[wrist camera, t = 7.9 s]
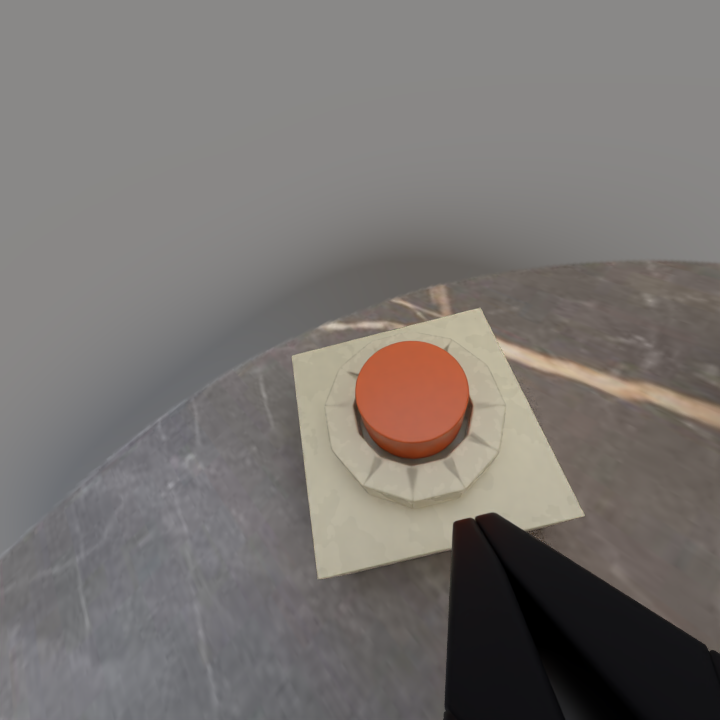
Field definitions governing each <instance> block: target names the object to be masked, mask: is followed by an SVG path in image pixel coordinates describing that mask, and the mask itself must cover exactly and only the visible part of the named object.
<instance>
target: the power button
mask: <svg viewBox="0 0 720 720" xmlns="http://www.w3.org/2000/svg"><path fill="white" fill-rule="evenodd" d="M355 398H356V403H357V407H358V410H359V412H360V415H361V417H362V420H363V422H364V425H365V427H366V429H367V432H368V433H369V435H370V437H371V438H372V439H373V441H374V442H375V443H376V444H377V445H378V446H379V447H381V448H382V449H384V450H385V451H387V452H388V453H390V454H393V455H395V456H398V457H402V458H409V459H419V458H425V457H429V456H432V455H435V454H437V453H439V452H440V451H442V450H444V449H445V448H446V447H447V446H448V445H450V444H451V443H452V441H453V440H454V439H455V437H456V436H457V434H458V432H459V430H460V428H461V425H462V422H463V418H464V415H465V412H466V408H467V405H468V401H469V385H468V380H467V377H466V374H465V372H464V370H463V368H462V367H461V365H460V364H459V363H458V361H457V360H456V359H455V358H454V357H453V356H452V355H450V354H449V353H448V352H447V351H445V350H444V349H442V348H440V347H438V346H436V345H433V344H430V343H426V342H421V341H403V342H397V343H394V344H391V345H388V346H386V347H384V348H382V349H380V350H379V351H377V352H376V353H375V354H373V355H372V356H371V357H370V358H369V359H368V360H367V361H366V363H365V364H364V365H363V367H362V369H361V370H360V373H359V375H358V377H357V381H356V386H355Z"/></svg>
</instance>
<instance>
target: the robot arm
mask: <svg viewBox="0 0 720 720" xmlns="http://www.w3.org/2000/svg"><path fill="white" fill-rule="evenodd" d="M445 710H446V711H445V712H444V719H443V720H720V654H719V653H718V652H716V651H714V650H711V651H708V648H707V646H706V645H705V644H703V643H702V642H700V641H698V640H697V639H695V638H694V637H692V636H690V635H689V634H687V633H686V632H684V631H683V630H681V629H679V628H678V627H676V626H675V625H673V624H671V623H670V622H668V621H667V620H665V619H664V618H662V617H660V616H659V615H657V614H656V613H654V612H652V611H651V610H649V609H648V608H646V607H645V606H643V605H641V604H640V603H638V602H637V601H635V600H633V599H632V598H630V597H629V596H627V595H626V594H624V593H622V592H621V591H619V590H618V589H616V588H614V587H613V586H611V585H610V584H608V583H607V582H605V581H603V580H602V579H600V578H599V577H597V576H595V575H594V574H592V573H591V572H589V571H588V570H586V569H584V568H583V567H581V566H580V565H578V564H576V563H575V562H573V561H572V560H570V559H568V558H567V557H565V556H564V555H562V554H561V553H559V552H557V551H556V550H554V549H553V548H551V547H549V546H548V545H546V544H545V543H543V542H542V541H540V540H538V539H537V538H535V537H534V536H532V535H530V534H529V533H527V532H526V531H524V530H523V529H521V528H519V527H518V526H516V525H515V524H513V523H511V522H510V521H508V520H507V519H505V518H504V517H502V516H500V515H499V514H497V513H494V512H490V513H486V514H482V515H478V516H476V517H475V519H473V518H471V517H470V518H465V519H461V520H457V521H455V522H454V523H453V531H452V553H451V574H450V596H449V618H448V640H447V662H446V684H445Z"/></svg>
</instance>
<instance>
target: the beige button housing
mask: <svg viewBox="0 0 720 720" xmlns="http://www.w3.org/2000/svg"><path fill="white" fill-rule="evenodd" d="M403 341H421V342H426V343H430V344H433V345H436V346H438V347H440V348H442V349H444V350H445V351H447V352H448V353H449V354H450V355H452V356H453V357H454V358H455V359H456V360H457V361H458V363H459V364H460V365H461V367H462V368H463V370H464V372H465V374H466V377H467V380H468V385H469V401H468V405H467V408H466V412H465V415H464V418H463V422H462V425H461V428H460V430H459V432H458V434H457V436H456V437H455V439H454V440H453V441H452V443H451V444H450V445H448V446H447V447H446V448H445V449H444V450H442V451H440V452H439V453H437V454H435V455H432V456H429V457H425V458H419V459H409V458H402V457H398V456H395V455H393V454H390V453H388V452H387V451H385V450H384V449H382V448H381V447H379V446H378V445H377V444H376V443H375V442H374V441H373V439H372V438H371V437H370V435H369V433H368V432H367V429H366V427H365V425H364V422H363V420H362V417H361V415H360V412H359V410H358V407H357V403H356V398H355V386H356V381H357V377H358V375H359V373H360V370H361V369H362V367H363V365H364V364H365V363H366V361H367V360H368V359H369V358H370V357H371V356H372V355H373V354H375V353H376V352H377V351H379V350H380V349H382V348H384V347H386V346H388V345H391V344H394V343H397V342H403ZM292 363H293V372H294V380H295V389H296V398H297V406H298V415H299V423H300V432H301V441H302V449H303V458H304V466H305V475H306V484H307V492H308V501H309V509H310V518H311V527H312V535H313V544H314V552H315V561H316V570H317V578H318V580H321V579H327V578H333V577H339V576H344V575H348V574H353V573H357V572H361V571H365V570H369V569H374V568H378V567H382V566H386V565H390V564H394V563H399V562H403V561H407V560H411V559H415V558H419V557H424V556H428V555H432V554H436V553H440V552H445V551H449V550H452V531H453V523H454V522H455V521H457V520H461V519H465V518H470V517H471V518H473V519H475V517H476V516H478V515H482V514H486V513H490V512H494V513H497V514H499V515H500V516H502V517H504V518H505V519H507V520H508V521H510V522H511V523H513V524H515V525H516V526H518V527H519V528H521V529H523V530H524V531H526V532H528V531H532V530H537V529H541V528H545V527H548V526H552V525H555V524H559V523H563V522H566V521H570V520H573V519H577V518H580V517H584V516H585V515H584V513H583V511H582V509H581V507H580V505H579V503H578V501H577V499H576V497H575V495H574V493H573V491H572V489H571V487H570V485H569V483H568V481H567V479H566V477H565V475H564V473H563V471H562V469H561V467H560V465H559V463H558V461H557V459H556V457H555V455H554V453H553V451H552V449H551V447H550V445H549V443H548V441H547V439H546V437H545V435H544V433H543V431H542V429H541V427H540V425H539V423H538V421H537V419H536V417H535V415H534V413H533V411H532V409H531V407H530V405H529V403H528V401H527V399H526V397H525V395H524V393H523V391H522V389H521V387H520V385H519V384H518V382H517V380H516V378H515V376H514V374H513V372H512V370H511V368H510V366H509V364H508V362H507V360H506V358H505V356H504V354H503V352H502V350H501V348H500V346H499V344H498V342H497V340H496V338H495V336H494V334H493V332H492V330H491V328H490V326H489V324H488V322H487V320H486V318H485V316H484V314H483V312H482V310H481V308H477V309H473V310H469V311H465V312H461V313H457V314H453V315H450V316H446V317H442V318H438V319H434V320H430V321H426V322H422V323H418V324H414V325H410V326H406V327H402V328H399V329H395V330H391V331H387V332H383V333H379V334H375V335H371V336H367V337H363V338H359V339H355V340H351V341H348V342H344V343H340V344H336V345H332V346H328V347H324V348H320V349H316V350H312V351H308V352H304V353H300V354H297V355H293V356H292Z"/></svg>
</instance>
